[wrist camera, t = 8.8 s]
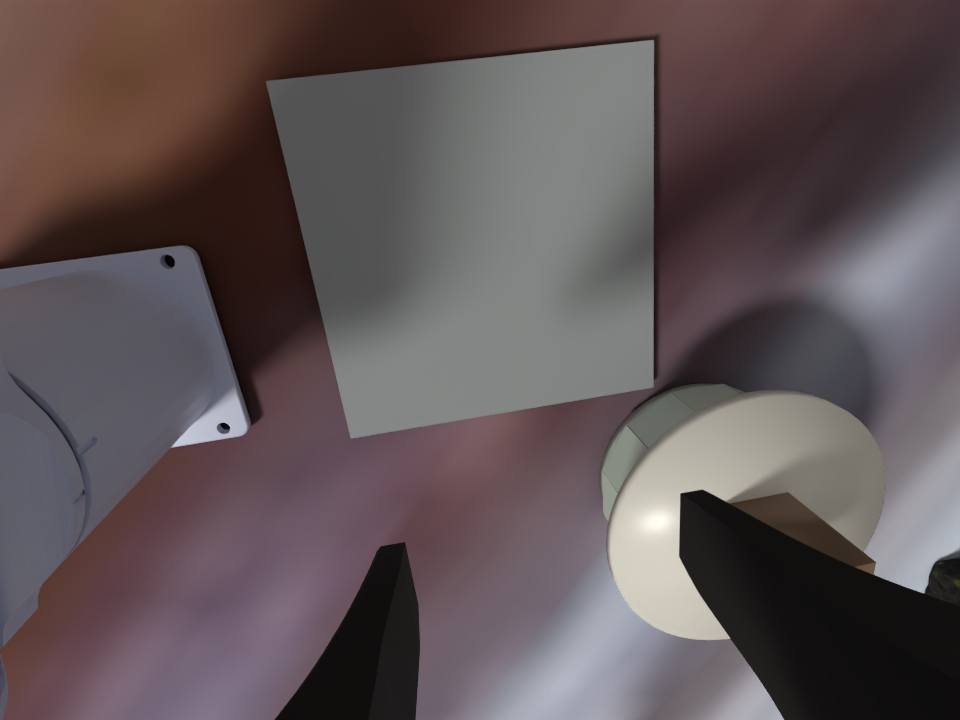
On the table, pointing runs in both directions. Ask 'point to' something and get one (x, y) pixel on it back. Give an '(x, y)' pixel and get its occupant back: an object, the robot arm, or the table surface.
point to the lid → (744, 494)
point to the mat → (478, 229)
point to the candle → (945, 581)
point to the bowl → (651, 431)
